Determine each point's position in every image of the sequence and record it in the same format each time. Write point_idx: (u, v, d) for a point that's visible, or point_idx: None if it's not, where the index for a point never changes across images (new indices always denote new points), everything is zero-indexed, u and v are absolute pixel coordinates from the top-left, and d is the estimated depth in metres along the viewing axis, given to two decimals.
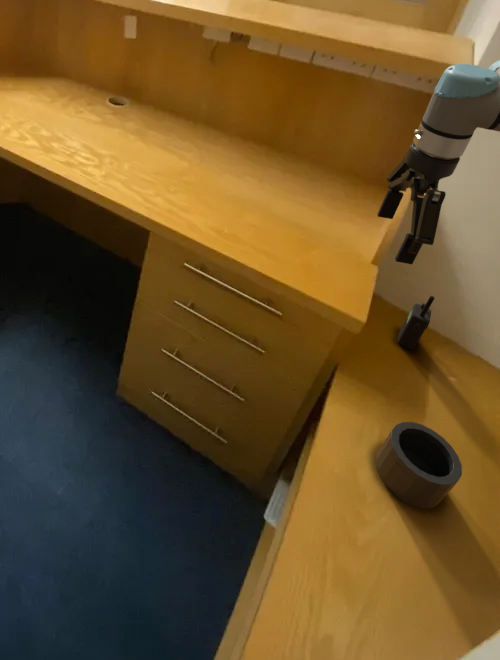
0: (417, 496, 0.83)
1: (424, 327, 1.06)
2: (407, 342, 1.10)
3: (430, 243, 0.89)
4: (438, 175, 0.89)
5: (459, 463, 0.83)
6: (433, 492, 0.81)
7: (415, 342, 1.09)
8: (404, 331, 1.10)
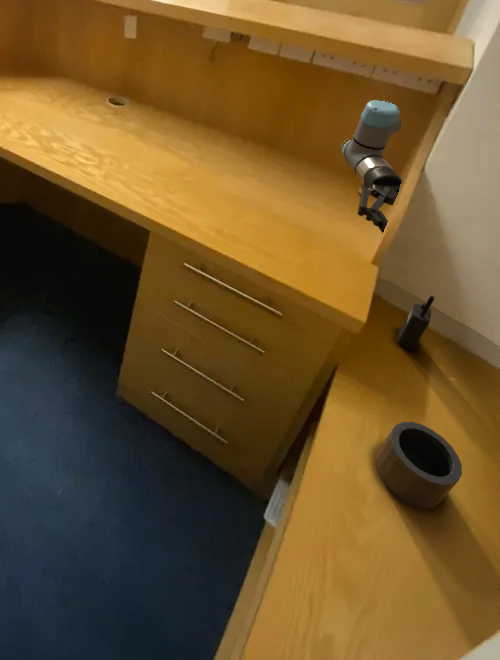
0: (417, 496, 0.83)
1: (424, 327, 1.06)
2: (407, 342, 1.10)
3: (360, 207, 1.16)
4: (369, 183, 1.24)
5: (459, 463, 0.83)
6: (433, 492, 0.81)
7: (415, 342, 1.09)
8: (404, 331, 1.10)
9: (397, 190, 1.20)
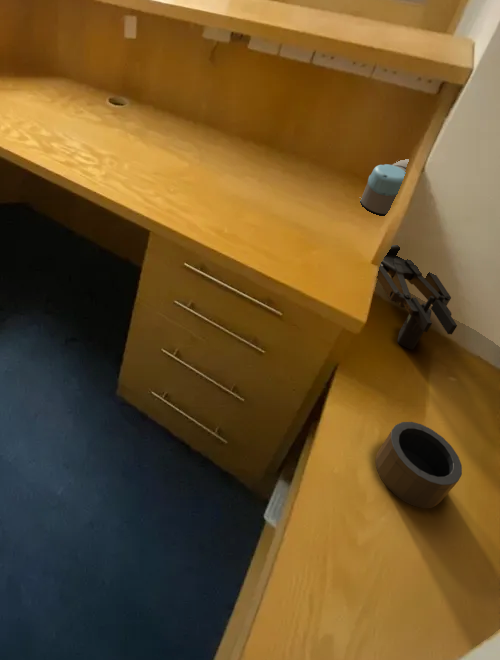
0: (417, 496, 0.83)
1: None
2: (407, 342, 1.10)
3: (394, 294, 1.08)
4: None
5: (459, 463, 0.83)
6: (433, 492, 0.81)
7: (415, 342, 1.09)
8: (404, 331, 1.10)
9: (405, 262, 1.15)
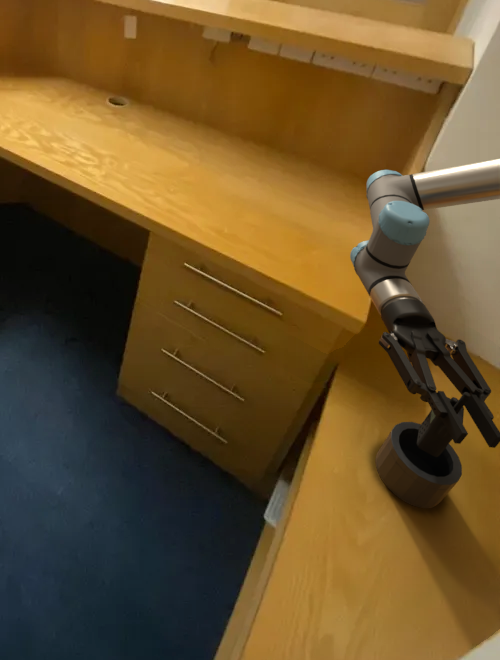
0: (417, 496, 0.83)
1: None
2: (430, 447, 0.82)
3: (414, 384, 0.80)
4: (389, 321, 0.91)
5: (459, 463, 0.83)
6: (433, 492, 0.81)
7: (442, 448, 0.80)
8: (426, 433, 0.81)
9: (427, 335, 0.87)
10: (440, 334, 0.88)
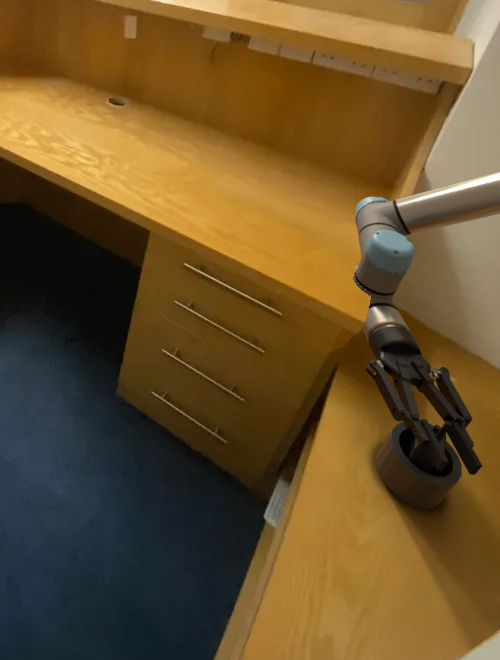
0: (417, 496, 0.83)
1: None
2: None
3: (398, 412, 0.83)
4: (376, 348, 0.94)
5: (459, 463, 0.83)
6: (433, 492, 0.81)
7: None
8: (411, 458, 0.85)
9: (412, 362, 0.90)
10: (425, 361, 0.91)
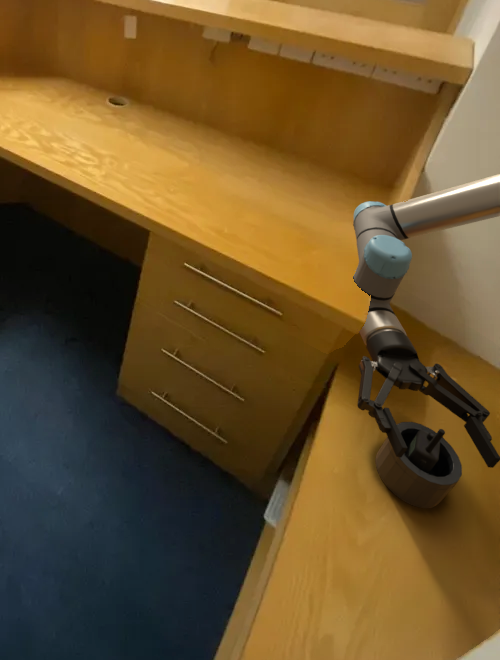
0: (417, 496, 0.83)
1: (431, 465, 0.82)
2: None
3: (361, 399, 0.86)
4: (373, 352, 0.95)
5: (459, 463, 0.83)
6: (433, 492, 0.81)
7: None
8: None
9: (410, 368, 0.91)
10: (422, 366, 0.92)
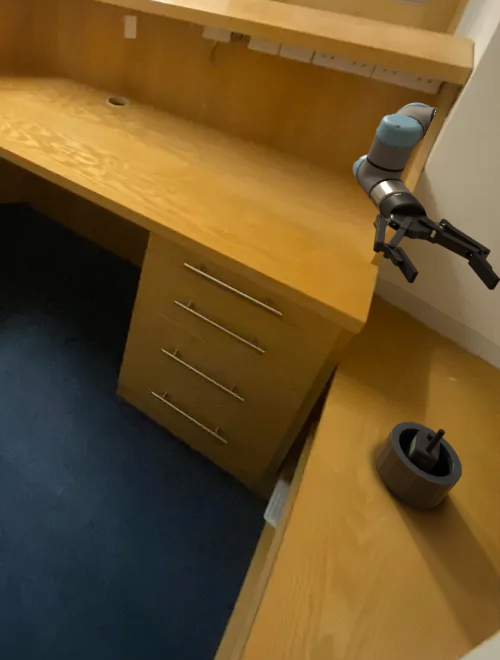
0: (417, 496, 0.83)
1: (431, 465, 0.82)
2: None
3: (376, 242, 0.97)
4: (386, 212, 1.06)
5: (459, 463, 0.83)
6: (433, 492, 0.81)
7: None
8: None
9: (420, 221, 1.02)
10: (430, 220, 1.03)
